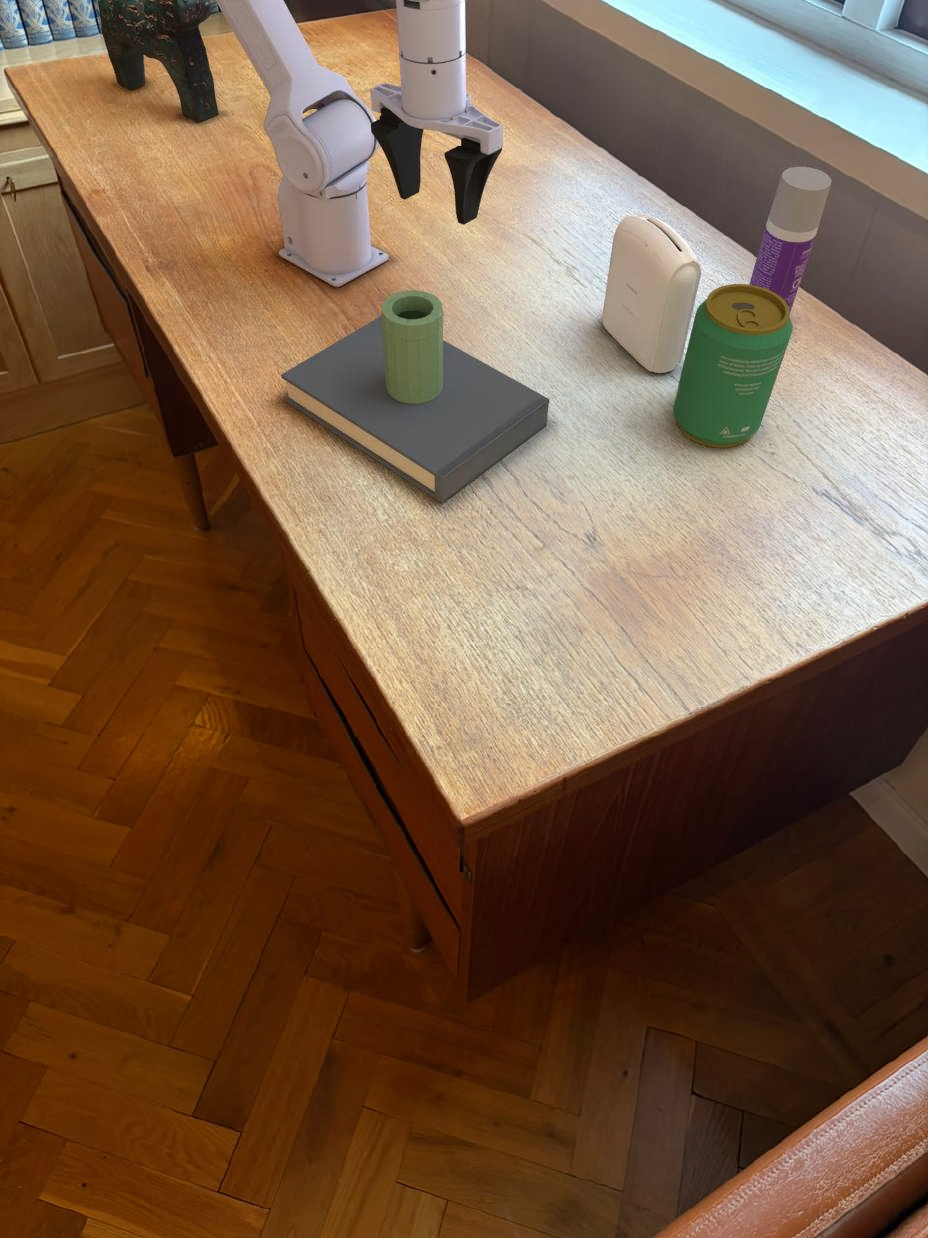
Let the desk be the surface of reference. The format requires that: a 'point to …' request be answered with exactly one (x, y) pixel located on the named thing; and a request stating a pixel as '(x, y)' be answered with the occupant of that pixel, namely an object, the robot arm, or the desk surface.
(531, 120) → the desk surface
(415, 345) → the jar
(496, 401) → the book
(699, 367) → the beverage can
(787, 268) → the container
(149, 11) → the ceramic cat
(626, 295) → the photo printer
